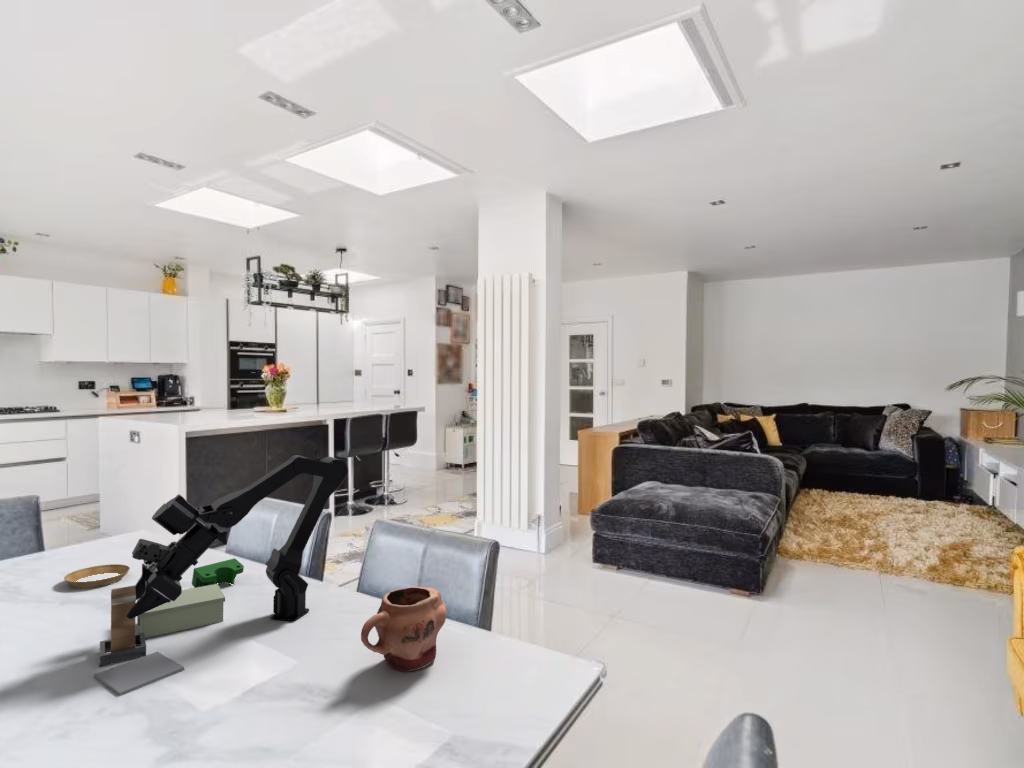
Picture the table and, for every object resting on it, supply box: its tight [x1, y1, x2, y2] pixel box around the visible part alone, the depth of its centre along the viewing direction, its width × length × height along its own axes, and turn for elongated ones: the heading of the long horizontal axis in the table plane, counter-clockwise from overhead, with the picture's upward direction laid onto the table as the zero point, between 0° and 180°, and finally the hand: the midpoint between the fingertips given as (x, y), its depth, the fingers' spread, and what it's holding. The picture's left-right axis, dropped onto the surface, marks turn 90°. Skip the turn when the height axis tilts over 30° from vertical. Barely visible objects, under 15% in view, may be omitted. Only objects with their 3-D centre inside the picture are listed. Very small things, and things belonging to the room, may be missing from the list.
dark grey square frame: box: [99, 632, 147, 667], centre depth 115 cm, size 8×8×2 cm
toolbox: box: [136, 584, 226, 639], centre depth 130 cm, size 17×11×6 cm, turn 126°
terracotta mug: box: [360, 586, 448, 672], centre depth 112 cm, size 20×12×14 cm, turn 144°
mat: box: [93, 651, 185, 697], centre depth 107 cm, size 11×11×1 cm
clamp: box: [191, 558, 245, 588], centre depth 153 cm, size 12×6×9 cm, turn 139°
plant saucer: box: [63, 563, 131, 589], centre depth 155 cm, size 15×15×3 cm
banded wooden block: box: [110, 584, 137, 652], centre depth 115 cm, size 4×4×13 cm
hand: (127, 609), depth 115 cm, fingers open, 9 cm apart
